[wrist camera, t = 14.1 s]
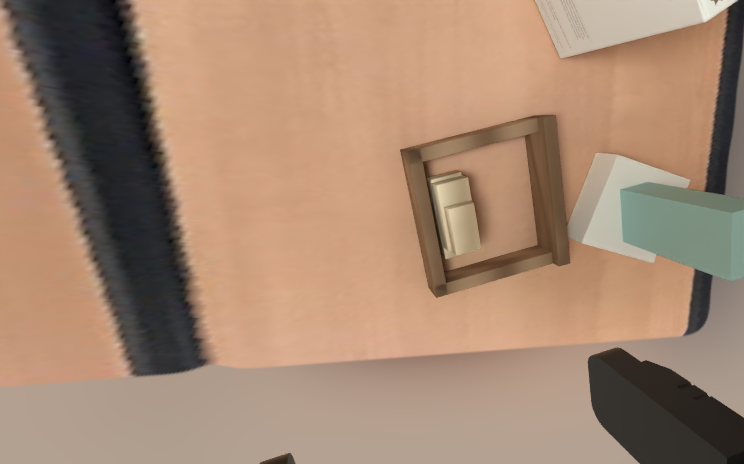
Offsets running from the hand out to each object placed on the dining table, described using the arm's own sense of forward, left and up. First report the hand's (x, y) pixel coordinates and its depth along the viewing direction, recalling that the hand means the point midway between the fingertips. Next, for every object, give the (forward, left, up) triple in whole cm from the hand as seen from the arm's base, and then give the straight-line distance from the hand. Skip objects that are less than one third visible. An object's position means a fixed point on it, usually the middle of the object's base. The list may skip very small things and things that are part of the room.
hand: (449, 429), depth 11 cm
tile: (-7, +29, -30) cm, 42 cm away
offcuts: (-2, +11, -30) cm, 32 cm away
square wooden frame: (-4, +14, -30) cm, 33 cm away
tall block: (-7, +28, -27) cm, 40 cm away
